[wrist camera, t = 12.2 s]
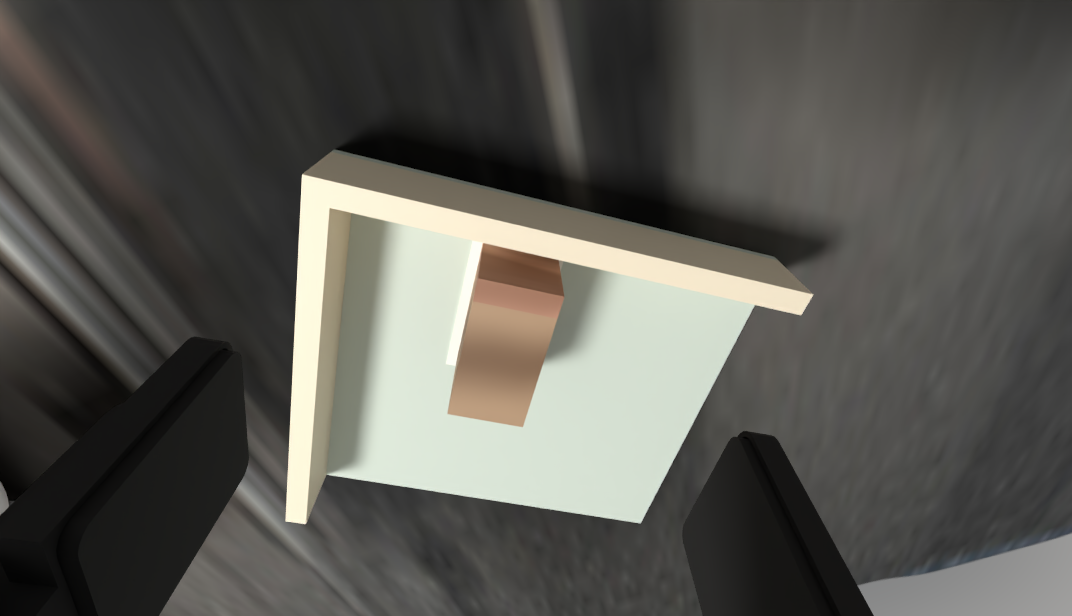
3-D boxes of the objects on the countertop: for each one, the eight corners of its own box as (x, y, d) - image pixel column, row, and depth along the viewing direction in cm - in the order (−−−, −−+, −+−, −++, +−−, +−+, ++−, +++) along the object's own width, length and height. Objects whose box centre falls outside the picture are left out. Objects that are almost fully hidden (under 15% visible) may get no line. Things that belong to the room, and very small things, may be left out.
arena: (774, 256, 30) (813, 294, 26) (639, 517, 40) (652, 572, 36) (334, 149, 26) (302, 174, 22) (310, 466, 36) (285, 521, 33)
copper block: (522, 370, 32) (522, 427, 28) (456, 358, 32) (447, 413, 27) (557, 252, 29) (564, 296, 24) (484, 236, 28) (477, 278, 24)
